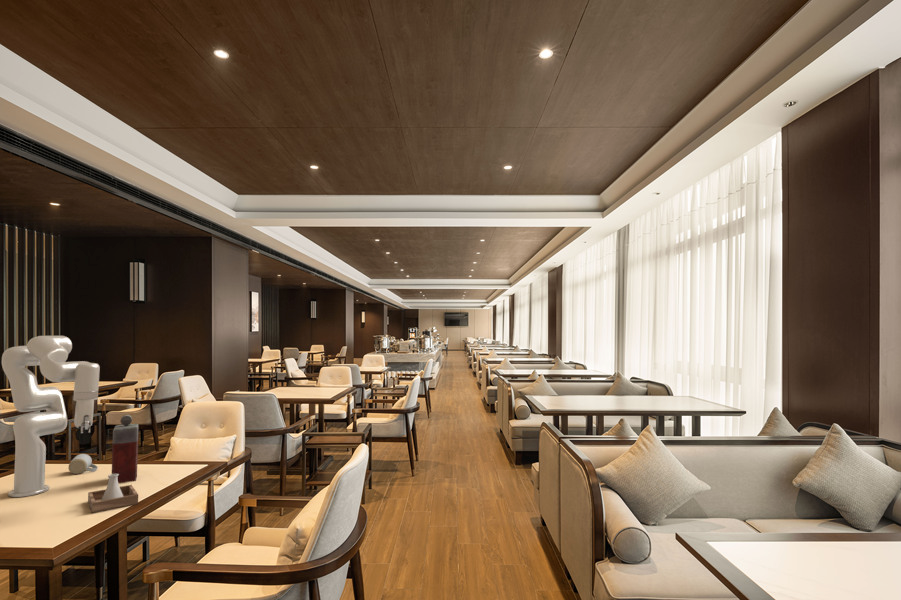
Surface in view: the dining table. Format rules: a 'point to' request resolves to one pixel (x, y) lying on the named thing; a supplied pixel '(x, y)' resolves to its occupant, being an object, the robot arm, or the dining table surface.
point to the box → (115, 503)
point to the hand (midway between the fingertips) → (83, 440)
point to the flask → (112, 488)
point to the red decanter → (125, 450)
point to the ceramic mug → (81, 464)
